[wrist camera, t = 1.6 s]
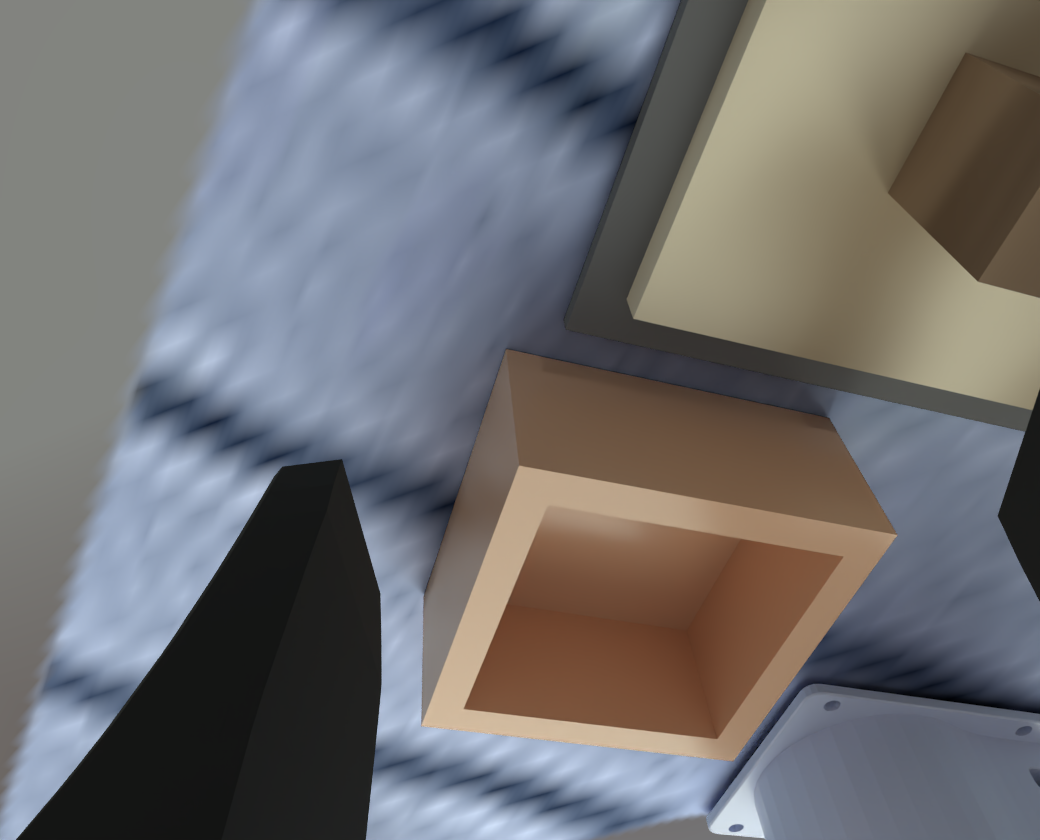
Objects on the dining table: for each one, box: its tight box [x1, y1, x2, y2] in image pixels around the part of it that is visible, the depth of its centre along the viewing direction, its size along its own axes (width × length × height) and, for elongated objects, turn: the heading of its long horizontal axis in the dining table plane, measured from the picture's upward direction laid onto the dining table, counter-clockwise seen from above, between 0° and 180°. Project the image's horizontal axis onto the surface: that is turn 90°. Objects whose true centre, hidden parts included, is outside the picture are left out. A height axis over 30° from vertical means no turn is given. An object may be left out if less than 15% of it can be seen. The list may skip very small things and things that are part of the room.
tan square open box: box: [421, 349, 897, 761], centre depth 21 cm, size 8×8×4 cm
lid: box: [627, 0, 1040, 410], centre depth 15 cm, size 10×10×4 cm
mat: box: [564, 0, 1032, 432], centre depth 17 cm, size 12×12×1 cm
